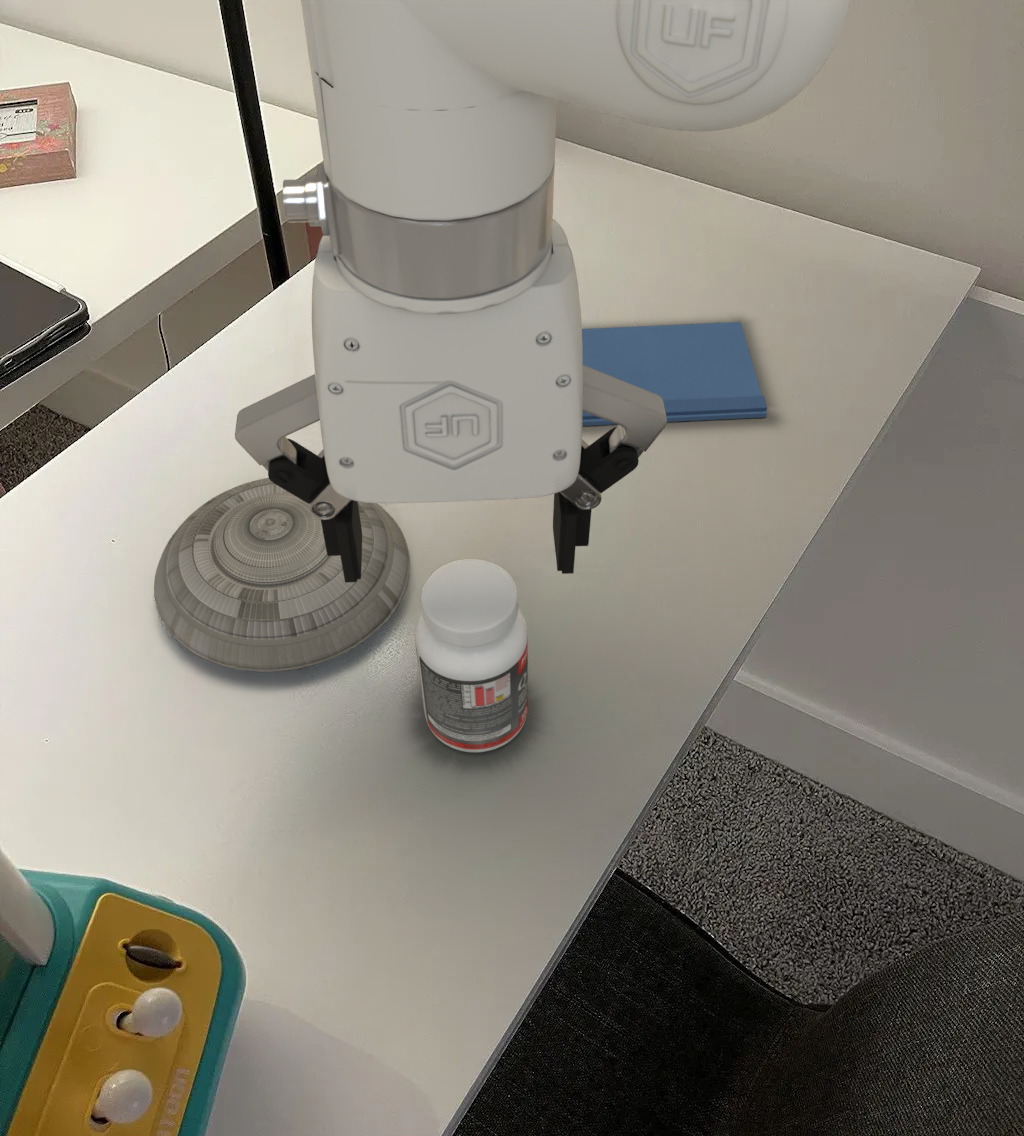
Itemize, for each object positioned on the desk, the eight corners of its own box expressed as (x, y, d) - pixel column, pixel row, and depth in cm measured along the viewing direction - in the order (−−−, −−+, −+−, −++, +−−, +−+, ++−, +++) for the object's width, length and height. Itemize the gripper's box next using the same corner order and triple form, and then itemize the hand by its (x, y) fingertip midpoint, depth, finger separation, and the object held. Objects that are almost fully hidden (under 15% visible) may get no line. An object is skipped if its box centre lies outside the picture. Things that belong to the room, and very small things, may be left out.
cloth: (739, 326, 82) (741, 318, 82) (766, 417, 76) (767, 409, 76) (562, 334, 82) (562, 325, 81) (574, 426, 76) (574, 418, 75)
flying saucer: (325, 724, 62) (310, 663, 57) (108, 630, 66) (78, 566, 61) (456, 544, 70) (451, 478, 65) (254, 470, 74) (237, 403, 69)
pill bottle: (544, 736, 61) (547, 620, 53) (445, 770, 60) (433, 656, 52) (505, 659, 64) (502, 538, 56) (410, 689, 63) (394, 570, 55)
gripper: (170, 285, 36) (264, 626, 49) (713, 268, 36) (656, 610, 50) (195, 158, 40) (275, 504, 54) (679, 146, 41) (635, 491, 55)
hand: (458, 555), depth 52 cm, fingers open, 9 cm apart
